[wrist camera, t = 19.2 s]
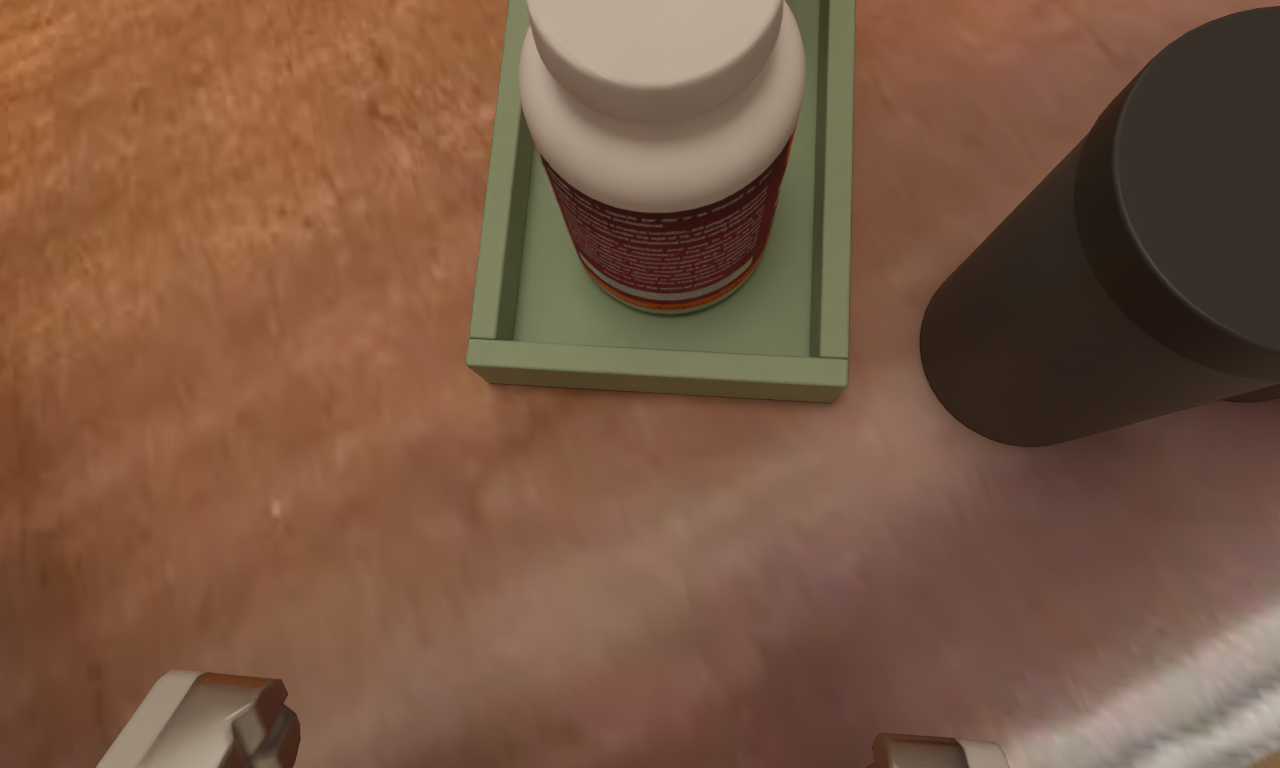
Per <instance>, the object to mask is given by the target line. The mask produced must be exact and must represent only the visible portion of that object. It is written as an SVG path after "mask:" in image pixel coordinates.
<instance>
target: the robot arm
mask: <svg viewBox="0 0 1280 768" xmlns="http://www.w3.org/2000/svg"><path fill="white" fill-rule="evenodd" d="M287 695H288V692H287V690H286V688H285V686H284V684H283V682H282V679H271V678H260V677H249V676H239V675H228V674H217V673H211V672H203V671H190V670H178V669H171V670H170V671H168V672H167V673H166V674H164V675H163V676H162V677H161V678H159V679H158V680H157V681H156V683H155V684H154V686H153V687H152V689H151V690H150V691H149V693H148V694H147V696H146V697H145V698H144V700H143V701H142V703H141V704H140V706H139V707H138V708H137V710H136V711H135V713H134V714H133V715H132V717H131V718H130V720H129V721H128V722H127V724H126V725H125V727H124V728H123V730H122V731H121V732H120V734H119V735H118V737H117V738H116V739H115V741H114V742H113V744H112V745H111V746H110V748H109V749H108V751H107V752H106V754H105V755H104V756H103V758H102V759H101V761H100V762H99V763H98V765H97V766H96V768H293V765H294V763H295V761H296V756H297V752H298V748H299V744H300V739H301V738H300V723H299V720H298V717H297V715H296V713H295V712H294V711H292V710H291V709H290V708H288V707H287V706H286V705H284V704H283V703H284V701H285V699H286V697H287ZM872 750H873V756H874V762H873V763H871V764H869V765H868V766H866V768H1010V767H1009V764H1008V761H1007V758H1006V755H1005V753H1004V751H1003V750H1002V749H1001V747H1000V746H999V745H998V744H996V743H994V742H986V741H974V740H961V739H955V738H947V737H932V736H918V735H904V734H890V733H879V734H878V735H877V736H876V737H875V740H874V743H873V746H872Z"/></svg>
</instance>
